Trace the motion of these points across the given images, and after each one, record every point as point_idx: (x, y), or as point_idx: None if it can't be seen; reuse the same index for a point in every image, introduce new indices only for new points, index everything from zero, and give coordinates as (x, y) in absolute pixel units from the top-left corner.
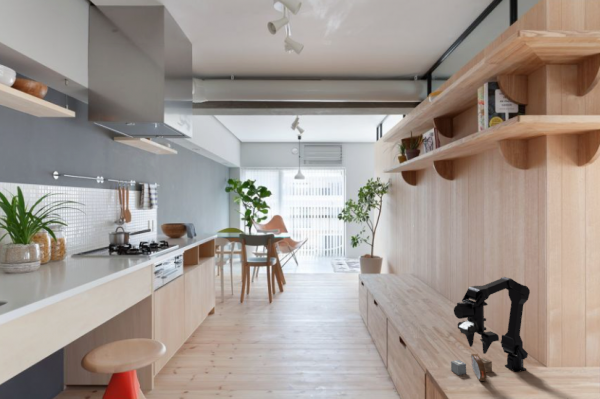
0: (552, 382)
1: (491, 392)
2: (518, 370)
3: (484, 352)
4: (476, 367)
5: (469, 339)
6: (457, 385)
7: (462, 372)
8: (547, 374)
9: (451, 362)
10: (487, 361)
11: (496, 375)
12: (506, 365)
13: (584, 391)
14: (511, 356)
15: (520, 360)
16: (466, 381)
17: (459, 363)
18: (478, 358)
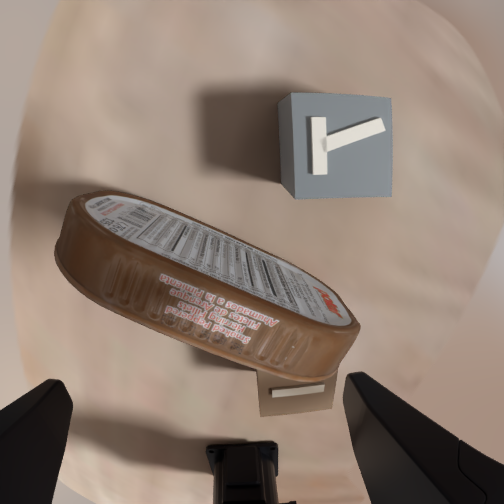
0: (112, 469)
1: (21, 179)
2: (209, 457)
3: (37, 392)
4: (197, 247)
5: (408, 472)
6: (142, 8)
7: (281, 147)
8: (170, 492)
9: (382, 99)
10: (270, 395)
11: (196, 357)
12: (271, 449)
13: (64, 476)
14: (236, 501)
15: (213, 501)
16: (168, 99)
17: (318, 132)
18: (196, 322)
